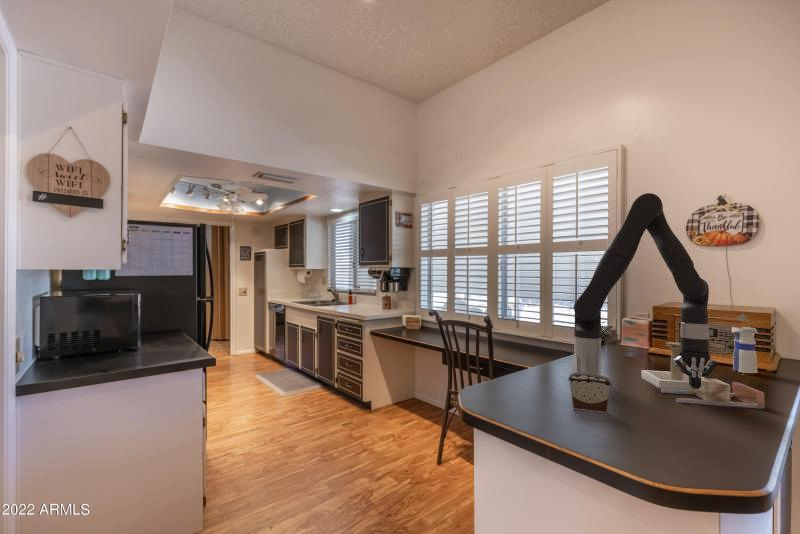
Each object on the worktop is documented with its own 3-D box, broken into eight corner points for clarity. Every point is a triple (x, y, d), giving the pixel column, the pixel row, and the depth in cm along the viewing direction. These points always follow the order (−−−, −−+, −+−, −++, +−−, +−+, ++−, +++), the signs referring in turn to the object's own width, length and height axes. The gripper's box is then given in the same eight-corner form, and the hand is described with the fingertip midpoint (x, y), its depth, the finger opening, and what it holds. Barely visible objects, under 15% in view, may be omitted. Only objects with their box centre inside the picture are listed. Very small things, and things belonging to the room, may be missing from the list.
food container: (608, 406, 113) (608, 374, 113) (613, 413, 107) (612, 379, 107) (565, 401, 117) (565, 370, 117) (567, 408, 111) (567, 375, 111)
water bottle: (725, 369, 158) (725, 313, 159) (747, 370, 157) (746, 313, 158) (740, 374, 150) (740, 315, 151) (763, 375, 149) (763, 315, 150)
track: (677, 402, 117) (677, 387, 117) (661, 391, 127) (661, 377, 127) (764, 408, 112) (764, 392, 112) (739, 397, 122) (739, 382, 122)
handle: (670, 380, 139) (669, 341, 140) (690, 384, 134) (689, 344, 134) (664, 382, 137) (664, 342, 137) (684, 386, 131) (684, 345, 132)
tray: (659, 389, 130) (659, 380, 130) (641, 378, 144) (641, 370, 145) (718, 393, 126) (717, 383, 127) (694, 381, 140) (694, 373, 141)
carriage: (708, 402, 116) (708, 383, 117) (696, 395, 123) (695, 377, 123) (730, 403, 115) (730, 385, 115) (716, 396, 122) (716, 378, 122)
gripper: (710, 335, 123) (710, 386, 122) (666, 333, 126) (666, 383, 125) (724, 339, 116) (725, 393, 115) (677, 337, 118) (678, 390, 118)
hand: (694, 388), depth 120 cm, fingers closed
